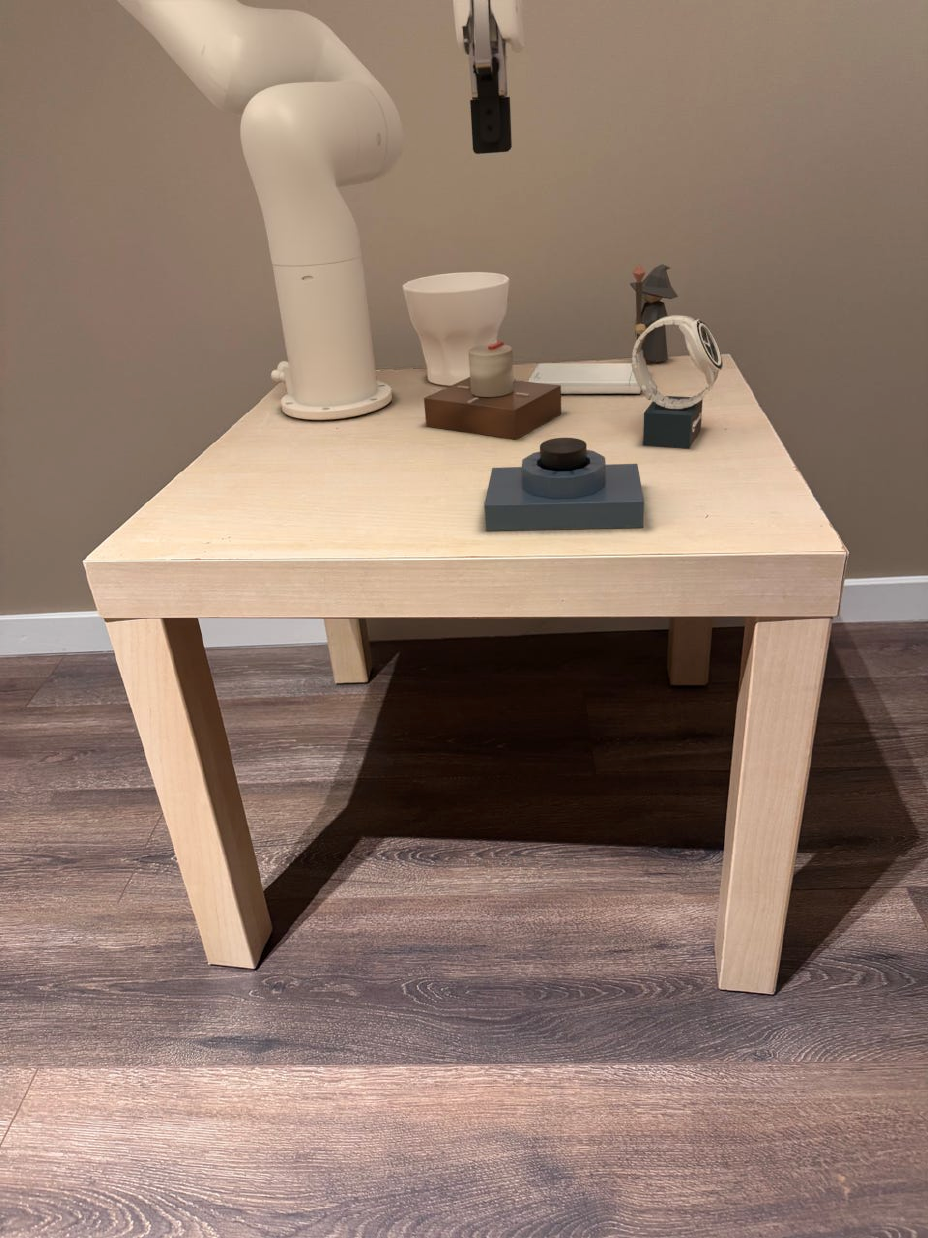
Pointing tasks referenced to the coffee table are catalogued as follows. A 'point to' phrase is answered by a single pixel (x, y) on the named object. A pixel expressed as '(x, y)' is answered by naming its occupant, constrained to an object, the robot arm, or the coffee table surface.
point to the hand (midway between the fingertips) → (492, 151)
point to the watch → (673, 415)
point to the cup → (455, 319)
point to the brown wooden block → (493, 409)
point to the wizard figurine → (652, 310)
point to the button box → (564, 496)
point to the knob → (491, 370)
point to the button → (563, 454)
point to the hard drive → (588, 378)
